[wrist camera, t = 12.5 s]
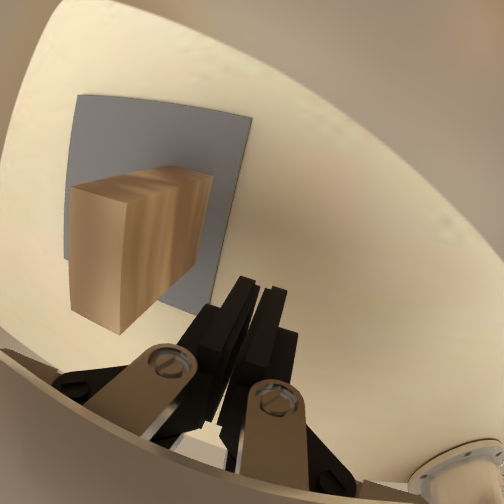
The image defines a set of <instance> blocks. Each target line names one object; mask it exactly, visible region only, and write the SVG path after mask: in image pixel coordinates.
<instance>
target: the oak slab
mask: <svg viewBox="0 0 504 504" xmlns="http://www.w3.org/2000/svg"><path fill="white" fill-rule="evenodd" d="M213 177H214V176H211V175H208V174H204V173H200V172H196V171H192V170H188V169H184V168H180V167H176V166H172V165H170V166H164V167H158V168H153V169H148V170H142V171H137V172H132V173H127V174H122V175H118V176H113V177H109V178H104V179H100V180H95V181H91V182H87V183H83V184H79V185H75V186H71V187H70V200H69V226H68V260H69V286H70V301H71V310H72V311H74V312H76V313H78V314H80V315H81V316H83V317H85V318H87V319H89V320H91V321H92V322H94V323H96V324H98V325H100V326H102V327H104V328H106V329H108V330H110V331H112V332H114V333H116V334H118V335H121V334H122V333H123V332H124V331H125V330H126V329H127V328H128V327H129V326H130V325H131V324H132V323H133V322H134V321H135V320H136V319H137V318H138V317H140V316H141V315H142V314H143V313H144V312H145V311H146V310H147V309H148V308H149V307H150V306H151V305H152V304H153V303H154V302H155V301H156V300H157V299H159V298H160V297H161V296H162V295H163V294H164V293H165V292H166V291H167V290H168V289H169V288H170V287H171V286H172V285H173V284H175V283H176V282H177V281H178V280H179V279H180V278H181V277H182V276H183V275H184V274H185V273H186V272H187V271H188V270H190V269H191V268H192V267H193V266H194V265H195V264H196V261H197V255H198V250H199V245H200V240H201V234H202V229H203V224H204V219H205V214H206V209H207V205H208V200H209V195H210V190H211V186H212V181H213Z"/></svg>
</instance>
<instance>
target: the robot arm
mask: <svg viewBox="0 0 504 504" xmlns="http://www.w3.org/2000/svg"><path fill="white" fill-rule="evenodd" d="M255 282H256V280H253V279H249V278H246V277H243V276H240V277H239V279H238V280H237V282H236V284H235V285H234V287H233V288H232V290H231V292H230V293H229V295H228V297H227V298H226V300H225V302H224V303H223V305H222V307H221V308H219V307H216V306H213V305H210V304H208V303H206V304H205V305H204V306H203V308H202V309H201V310H200V312H199V313H198V315H197V316H196V318H195V319H194V320H193V322H192V323H191V325H190V326H189V327H188V329H187V330H186V332H185V333H184V335H183V336H182V337H181V339H180V340H179V342H178V343H177V345H175V344H169V343H166V344H158V345H154V346H152V347H150V348H149V349H147V350H146V351H145V352H143V353H142V354H141V355H140V356H139V357H138V358H137V359H135V360H134V361H133V362H132V363H131V364H130V365H126V366H118V367H110V368H102V369H93V370H84V371H74V372H68V373H64V374H60V373H59V369H56V368H54V367H51V366H48V365H46V364H43V363H41V362H38V361H36V360H33V359H31V358H29V357H26V356H24V355H22V354H20V353H17V352H15V351H13V350H10V349H6V348H5V349H0V504H504V496H503V491H504V475H501V471H500V468H499V466H500V465H501V463H502V461H503V460H504V448H503V445H502V444H501V443H500V442H499V441H495V440H482V441H477V442H472V443H469V444H466V445H463V446H460V447H457V448H455V449H452V450H450V451H448V452H446V453H444V454H442V455H440V456H438V457H436V458H434V459H433V460H431V461H429V462H428V463H426V464H425V465H423V466H422V467H421V468H420V469H419V470H417V471H416V472H415V473H414V474H413V476H412V477H411V478H410V480H409V482H408V492H404V491H401V490H397V489H393V488H390V487H387V486H383V485H380V484H377V483H373V482H371V481H367V480H362V481H361V482H359V481H356V480H355V479H354V477H353V476H352V474H351V473H350V472H349V470H348V469H347V468H346V467H345V466H344V465H343V464H342V463H341V462H340V461H339V460H338V459H337V458H336V457H335V455H334V454H333V453H332V452H331V451H330V450H329V449H328V448H327V447H326V446H325V445H324V443H323V442H322V441H321V440H320V439H319V438H318V437H317V436H316V435H315V433H314V432H313V431H312V430H311V429H310V428H309V427H308V425H307V424H306V417H305V403H304V400H303V397H302V395H301V394H300V392H299V391H298V390H297V389H296V388H294V387H293V386H292V385H290V380H291V374H292V369H293V363H294V357H295V352H296V346H297V340H298V333H296V332H293V331H290V330H286V329H283V328H280V327H278V326H279V322H280V319H281V315H282V311H283V307H284V303H285V299H286V295H287V290H284V289H281V288H278V287H275V286H272V289H271V290H270V289H267V288H265V290H264V292H263V295H262V297H261V299H260V302H259V304H258V307H257V309H256V312H255V314H254V317H253V319H252V322H251V324H250V321H251V317H252V314H253V311H254V307H255V304H256V301H257V297H258V294H259V290H260V286H258V285H255ZM249 324H250V326H249ZM248 328H249V329H248ZM230 377H231V378H230ZM229 380H230V381H229ZM228 382H229V385H228ZM227 385H228V388H227V391H226V395H225V398H224V401H223V405H222V408H221V411H220V414H219V418H218V421H217V425H219V426H222V429H221V432H220V435H219V437H220V439H221V440H222V442H223V443H224V445H225V446H226V448H227V451H226V453H225V459H224V465H223V470H222V469H219V468H216V467H213V466H210V465H207V464H204V463H201V462H199V461H196V460H194V459H191V458H188V457H186V456H183V455H180V454H178V453H176V452H173V451H174V450H175V449H176V448H177V446H178V445H179V444H180V442H181V441H182V440H183V438H184V436H185V434H186V432H189V431H192V430H196V429H198V428H200V429H202V426H203V424H204V422H205V421H208V422H212V420H213V418H214V415H215V413H216V411H217V408H218V406H219V404H220V401H221V399H222V397H223V394H224V392H225V389H226V387H227Z"/></svg>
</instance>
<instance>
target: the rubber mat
mask: <svg viewBox="0 0 504 504" xmlns="http://www.w3.org/2000/svg"><path fill="white" fill-rule="evenodd" d="M251 122H252V118H249V117H245V116H240V115H235V114H231V113H226V112H221V111H215V110H210V109H204V108H198V107H192V106H186V105H180V104H173V103H166V102H158V101H150V100H141V99H132V98H121V97H109V96H93V95H78V96H77V101H76V107H75V112H74V118H73V124H72V131H71V138H70V146H69V154H68V163H67V174H66V187H65V205H64V259H66V260H68V226H69V200H70V187H71V186H75V185H79V184H83V183H87V182H91V181H95V180H100V179H104V178H109V177H113V176H118V175H122V174H127V173H132V172H137V171H142V170H148V169H153V168H158V167H164V166H170V165H172V166H176V167H180V168H184V169H188V170H192V171H196V172H200V173H204V174H208V175H211V176H214V177H213V181H212V186H211V190H210V195H209V200H208V205H207V209H206V214H205V219H204V224H203V229H202V234H201V240H200V245H199V250H198V255H197V261H196V264H195V265H194V266H193V267H192V268H191V269H190V270H188V271H187V272H186V273H185V274H184V275H183V276H182V277H181V278H180V279H179V280H178V281H177V282H176V283H175V284H173V285H172V286H171V287H170V288H169V289H168V290H167V291H166V292H165V293H164V294H163V295H162V296H161V297H160V298H159V299H157V300H158V301H161V302H163V303H166V304H168V305H171V306H173V307H176V308H178V309H181V310H183V311H186V312H188V313H191V314H194V315H196V316H197V315H198V313H199V312H200V310H201V309H202V308H203V306H204V305H205V304H206V303H208V304H210V300H211V295H212V290H213V286H214V281H215V276H216V272H217V267H218V262H219V258H220V253H221V249H222V244H223V240H224V235H225V231H226V226H227V222H228V218H229V213H230V209H231V205H232V200H233V196H234V192H235V188H236V183H237V179H238V175H239V171H240V167H241V162H242V158H243V154H244V150H245V146H246V142H247V138H248V134H249V130H250V126H251ZM68 261H69V260H68Z"/></svg>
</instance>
